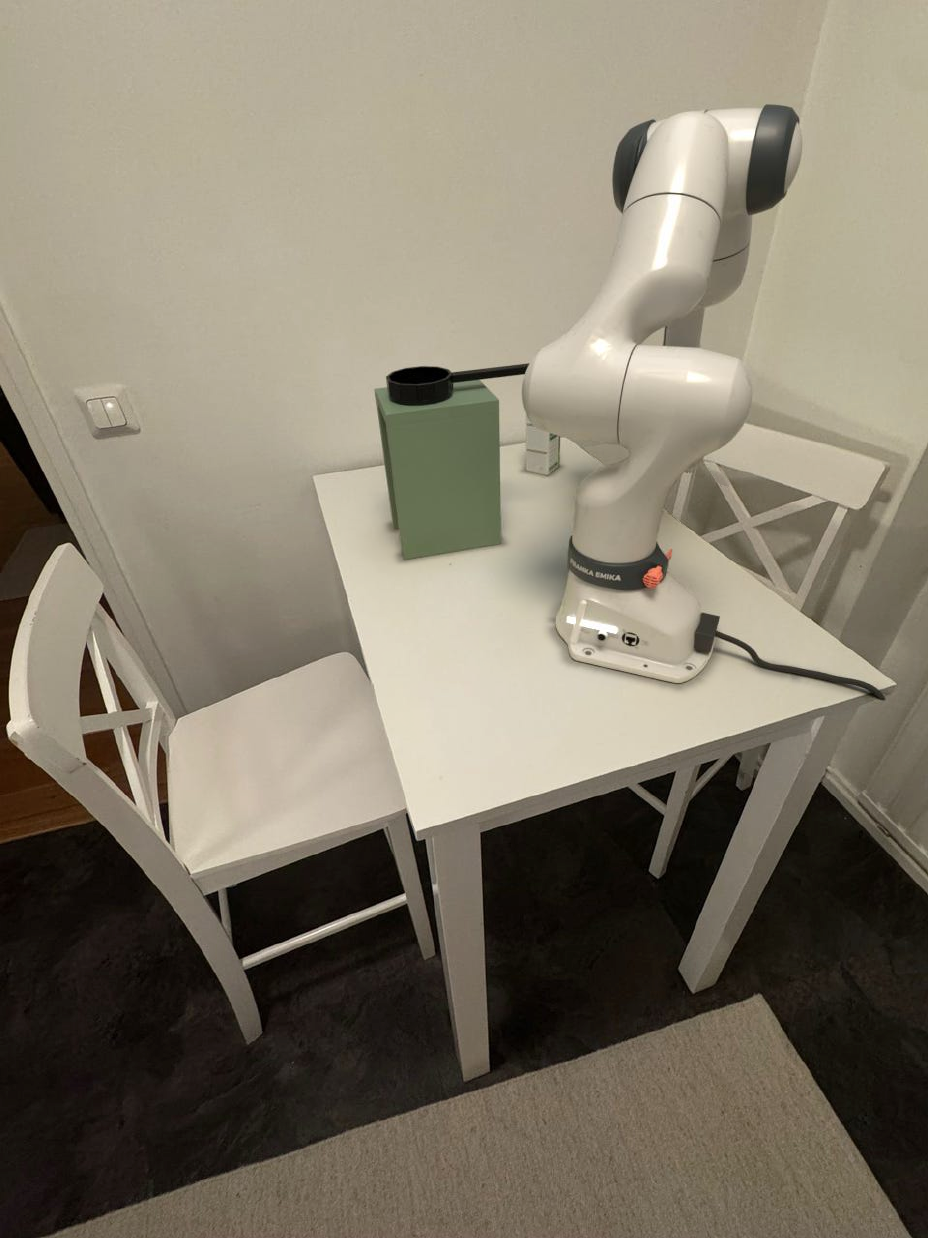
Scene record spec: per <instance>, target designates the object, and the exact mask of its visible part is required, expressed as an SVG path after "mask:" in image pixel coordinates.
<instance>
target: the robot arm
mask: <svg viewBox="0 0 928 1238" xmlns="http://www.w3.org/2000/svg"><path fill="white" fill-rule="evenodd" d="M802 154H803V135H802V130H801V126H800V117H799V115H798V114H797V112H796V111H795V110H794V108H793V107H791V106H788V105H781V104H770V103H766V104H764V106H763V107H732V108H719V109H713V110H712V109H711V110H709V109H708V108H705V109H701V110H700V109H699V110H690V111H689V110H688V111H687V110H686V111H683V112H678V113H676V114H673V115H671V116H670V117H666V118H662V119H659V120H656V119H654V118H652V119H649V120H646V121H643V122H641V123H638V124H637V125H635V126H633V127H631V128H630V129H629V130H628V131H627V132H626V133H625V135H624V136H623V137H622V138H621V139H620V142H618V144H617V148H616V151H615V154H614V160H613V165H612V170H611V186H612V194H613V196H612V197H613V201H614V204H615V207H616V208H617V209H618V211H619V213H621V217H620V218H621V219H620V221H619V226H618V231H617V235H616V239H615V243H614V246H613V251H612V255H611V258H610V261H609V264H608V268H607V271H606V273H605V274H606V275H605V277H604V280H603V283H602V285H601V287H600V290H599V291H598V293H597V295H596V297H595V299H593V301H592V303H591V304H590V306H589V307H588V308H587V310H586V312H584V314H583V315H582V316H581V317H580V319H579V320H577V322H576V323H575V324H574V325H572V326H571V328H570V329H569V330H567V331H566V332H565V333H564V334H563V335H561V336H560V337H558V338H557V339H556V340H554V341H552V342H551V343H549V344H547V345H545V346H543V347H542V348H541V349H540V350H538V352H536V354H535V355H534V356H533V358H532V359H531V360H530V362H529V363H530V364H529V366H528V368H527V370H526V372H525V374H523V375H524V376H523V378H522V379H523V380H522V385H521V400H522V406H523V409H524V412H525V416H526V415H527V417H528V419H529V420H530V422H531V423H532V425H533V426H534V427H535V428H538V429H540V430H543V431H546V432H549V433H551V434H554V435H558V436H560V438H561V437H562V438H565V439H567V440H575V441H582V442H592V443H601V444H609V445H619V446H621V447H623V448H625V449H627V450H628V454H627V456H626V457H625V458H623V459H621V460H619V461H617V462H613V463H610V464H607V465H604V466H601V467H600V468H597V469H595V470H594V471H592V472H590V473H589V474H587V475H586V476H585V477H584V478H583V479H582V480H581V481H580V483H579V484H578V486H577V488H576V491H575V495H574V507H573V520H572V521H573V523H572V535H570V536H569V540H568V547H567V552H566V553H567V554H566V571H567V582H566V585H565V589H564V594H563V598H562V601H561V604H560V607H559V609H558V612H557V613H556V616H555V623H554V624H555V628H556V631H557V633H558V634H559V636H560V637H561V638H562V640H563V641H564V642H565V644H566V645H567V648H568V652H569V656H570V658H572V659H573V660H575V661H577V662H580V663H586V664H589V665H595V666H598V667H603V668H607V669H611V670H616V671H621V672H625V673H629V674H633V675H638V676H643V677H647V678H650V679H655V680H659V681H660V680H661V681H664V682H669V683H674V684H682V683H685V682H688V681H689V680H692V679H694V678H695V677H696V676H697V675H699V674H700V673H701V671H703V669H704V668H705V667H706V666H707V664H708V662H709V661H710V659H711V657H712V654H713V651H714V647H715V642H716V638H718V639H721V640H723V641H725V642H728V643H731V644H733V645H735V646H737V647H739V648H741V649H743V650H744V651H746V652H747V653H748V654H749V655H750V657H751V659H752V660H753V661H754V663H755V664H757V665H758V666H760V667H762V668H764V669H767V670H770V671H777V672H784V673H785V672H786V673H792V674H797V675H802V676H806V677H812V678H817V679H821V680H825V681H829V682H833V683H839V684H844V685H850V686H854V687H859V688H862V689H865V690H866V691H868V692H869V693H871V694H872V695H874V697H875V698H876V699H877V700H879V701H886V697H885V696H884V694H883V693H882V692H881V691H880V690H879V689H878V688H877V687H876V686H874V685H873V684H871V683H869V682H867V681H864V680H861V679H856V678H850V677H844V676H840V675H834V674H829V673H826V672H821V671H817V670H812V669H806V668H802V667H796V666H791V665H785V664H784V665H783V664H776V663H771V662H768V661H765V660H763V659H762V658H760V656H759V655H758V653H757V651H755V649H754V648H753V647H752V646H751V645H750V644H748V643H746V642H744V641H742V640H740V639H739V638H736V637H734V636H731V635H728V634H726V633H724V632H721V631H718V627H719V623H720V619H721V616H720V615H715V614H711V613H706V612H704V611H703V612H702V609H701V604H700V601H699V598H698V597H697V596H696V595H695V594H693V593H692V592H691V591H690V590H689V589H688V588H686V587H685V586H684V585H683V584H682V583H681V582H680V581H679V580H678V579H677V578H676V577H675V576H673V574H672V573H670V572H669V571H668V568H669V561H670V560H671V559H672V554H673V549H672V548H670V549H669V550H668V552H667V553H666V554H665V553H664V552H663V550H662V549H661V546H660V545H659V543H658V535H659V530H660V527H661V526H660V525H661V522H662V517H663V513H664V509H665V506H666V503H667V500H668V498H669V495H670V493H671V492H672V490H673V488H674V486H675V484H676V482H677V481H678V480H679V479H680V478H681V476H682V475H683V474H684V473H685V472H687V470H691V469H692V468H694V467H696V466H698V464H700V463H701V462H702V461H703V459H704V458H705V457H706V456H708V455H710V454H712V453H714V452H715V451H718V450H721V449H722V448H723V447H725V446H726V445H727V444H728V443H730V442H731V441H732V440H733V439H734V438H735V437H736V436H737V435H738V434H739V432H740V431H741V430H742V428H743V427H744V425H745V423H746V422H747V420H748V417H749V416H750V413H751V408H752V404H753V397H754V393H753V382H752V379H751V376H750V373H749V371H748V369H747V367H746V365H745V364H744V362H743V361H742V360H741V359H740V358H738V357H735V356H731V355H728V354H725V353H721V352H718V351H713V350H709V349H706V348H701V337H702V331H703V324H704V319H705V318H704V317H705V311H706V310H705V309H706V308H710V307H713V306H716V305H718V304H721V303H722V302H724V301H726V300H727V299H729V298H730V297H731V296H732V295H734V293H735V292H736V291H737V290H738V288H740V286H741V285H742V283H743V281H744V280H743V279H744V277H745V273H746V270H747V267H748V263H749V256H750V248H751V239H752V230H753V216H754V215H757V214H759V213H763V212H766V211H768V210H771V209H773V208H774V207H775V206H777V205H778V204H779V203H780V202H781V201H782V200H784V199H785V197H786V196H787V192H788V190H789V189H790V187H791V185H792V183H793V181H794V180H795V178H796V176H797V173H798V170H799V168H800V164H801V161H802ZM661 329H663V330H664V331H663V342H662V345H658V344H657V345H656V344H655V345H653V344H643V343H644V342H645V341H646V340H647V339H648V338H649V337H650V336H652V335H653V334H654V333H656V332H657V331H660V330H661Z"/></svg>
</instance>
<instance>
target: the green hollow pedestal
mask: <svg viewBox="0 0 928 1238" xmlns="http://www.w3.org/2000/svg"><path fill="white" fill-rule="evenodd" d="M453 388H454V389H453V395H452V397H450V398H449V399H447V400H445V401H443V402H440V403H436V404H431V405H423V406H406V405H400V404H396V403H393V402H392V401H390V399H389V393H388V391H387V386H385V387H378V388H373V389H374V397H375V405H376V412H377V420H378V427H379V434H380V441H381V448H382V456H383V465H384V470H385V472H384V473H385V478H386V485H387V492H388V500H389V501H388V502H389V508H390V509H389V510H390V514H391V515H390V517H391V521H392V522H391V523H392V528H393V529H394V530H396V529H397V530H398V531H399V539H400V546H401V552H402V553H401V554H402V558H403V560H404V561H407V560H412V559H414V560H415V559H418V558H425V557H426V558H427V557H432V556H437V555H443V554H448V553H454V552H460V551H461V552H462V551H466V550H471V549H472V550H473V549H478V548H483V547H484V548H485V547H489V546H495V545H501V544H502V531H501V530H502V522H501V521H502V517H501V516H502V515H501V512H502V511H501V510H502V508H501V449H500V447H501V445H500V443H501V442H500V441H501V439H500V435H501V434H500V399H499V398H498V397H497V396H496V395H495V394H494V393H493V392H492V391H491V390H490V388H488V386H487V385H485V384H484V383H483V382H482V380H474V381H466V382H457V383H453Z"/></svg>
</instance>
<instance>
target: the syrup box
mask: <svg viewBox="0 0 928 1238" xmlns="http://www.w3.org/2000/svg"><path fill="white" fill-rule="evenodd" d="M560 456H561V436H558V435H554V434H551V433H549V432H546V431H543V430H540V429H538V428H535V427H534V426H533V425H532V423H531V422H530V420H529V419H528V417H527V415H526V414H525V471H527V472H530V473H533V474H539V475H544V476H550V474H551V473H552V472H553V471H555V470H556V469H558V467H560V462H561V461H560V458H561V457H560Z"/></svg>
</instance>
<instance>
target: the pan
mask: <svg viewBox="0 0 928 1238" xmlns="http://www.w3.org/2000/svg"><path fill="white" fill-rule="evenodd" d="M529 364H530V362H528V363H520V364H512V365H503V366H494V367H486V368H478V369H469V370H461V371H451V370H450V369H448V368H445V367H441V366H429V365H422V366H421V365H420V366H411V367H404V368H401V369H397V370H394V371H391V372H390V373H389V374H388V375H386V376H385V382H386V387H387V391H388V393H389V399H390V401H392V402H393V403H396V404H400V405H406V406H423V405H431V404H436V403H440V402H443V401H445V400H447V399H449V398H450V397H452V395H453V389H454V388H453V383H457V382H466V381H474V380H480V381H482V380H488V379H489V380H490V379H499V378H507V377H514V376H522V375H525V372H526V370H527V368H528V366H529Z"/></svg>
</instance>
